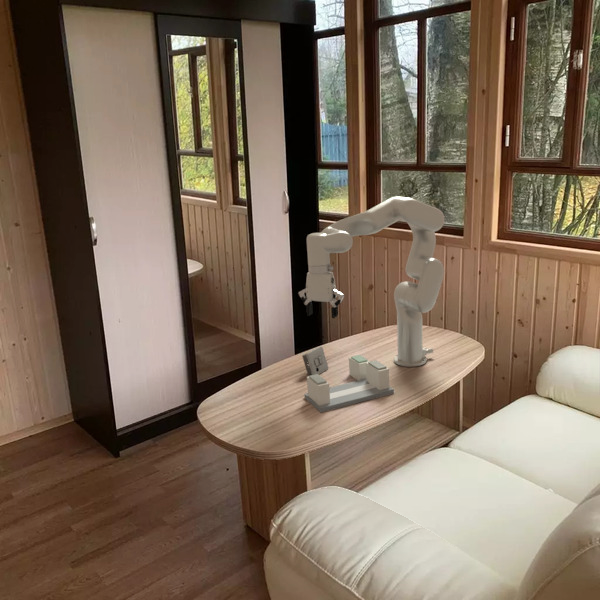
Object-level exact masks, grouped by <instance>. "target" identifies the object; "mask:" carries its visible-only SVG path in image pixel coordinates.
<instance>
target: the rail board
mask: <svg viewBox="0 0 600 600" xmlns="http://www.w3.org/2000/svg"><path fill="white" fill-rule="evenodd" d="M329 390H330V403H328V404H324V405H320V406H319V405H318V404H317V403H316V402H315V401H314V400H313V399H311V398H310V397H309V396H308V392H305V393H304V395H303V396H304V399H305V400H306V401H307V402H308V403H310V404H311V405H312V406H313V407H314V408H315V409H317V410H318V412H320V413H324V412H328V411H331V410H335V409H339V408H343V407H347V406H351V405H356V404H358V403H361V402H362V403H363V402H365V401H370V400H375V399H377V398H381V397H384V396H389V395H393V394H395V389H394V388H393V387H391V386H390V385H389V388H386V389H382V390H379V389H377V388H376V387H374V386H373V385H372V384H370V383H368V382H367V381H366V379H362V380H354V381H351V382H348V383H342V384H338V385H335V386H329Z"/></svg>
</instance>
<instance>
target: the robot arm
mask: <svg viewBox="0 0 600 600" xmlns="http://www.w3.org/2000/svg"><path fill="white" fill-rule="evenodd" d="M397 222H404V223H407V224H408V226H409V228H410V229H411V233H412V244H411V248H410V251H409V254H408V258H407V260H406V265H405V273H406V275H407V276H408V277H409V278H411V279H414V280H417V281H418V283H416V282H413V281H401V282H400V283H398V284H397V285H396V287H395V288H394V292H393V298H394V304H395V309H396V328H397V330H396V332H397V334H396V335H397V337H396V339H397V354H396V355H395V356H393V361H394V364H396V365H398V366H401V367H407V368H408V367H410V368H412V367H413V368H414V367H419V366H423V365H425V364H427V362H428V361H427V357H426V355H428V354H432V353H433V352H434V349H433V347H430V348H427V347H423V315H422V314H426V313H428V312H429V311H431V310H432V309H433V308H434V307H435V304H436V302H437V300H438V296H439V293H440V289H441V286H442V284H443V280H444V277H445V268H444V265H443V263H442V261H441V260H439V259H437V258H435V257H434V253H435V249H436V246H437V245H436V244H437V237H436V233H435V232H438V231H439V230H441V229H442V227H443V226H444V224H445V214H444V213H443V211H442V210H441V209H439V208H437V207H435V206H432V205H430V204H427V203H425V202H422V201H419V200H418V199H415V198H412V197H405V196H400V195H399V196H391V197H389V198H388V199H386V200H384V201H382V202H380V203H379V204H377V205H375V206H373V207H371V208H370V209H367V210H365V211H364V212H363V211H362V212H360V213H357V214H354V215H351V216H348V217H345V218H343V219H339V220H337V221H336V222H334V223H332V224H330V225H328V226H327V227H325V228H324V229H323V230H321V232H312V233H310V234H307V236H306V251H307V265H308V272H307V273H306V280H305V281H306V282H305V288H304V289H302V290H300V291H298V296H299V297H300V300H301V301H302V302H303V304H304V305H305V312H306V314H307V317H310V316H312V315H313V314H314V310H313V309H314V307H313V303H312V302H324V303H328V302H329V303H330V304H329V305H331V318H332V319H335V318H337V317H338V315H339V305H340V304H341V303H342V302H343V300H344V298H345V294H344V293H342V292H341V291H338V289H337V285H336V279H335V276H334V275H335V274H334V272H333V271H334V269H335V267H334V266H332V265H331V260H330V259H331V257H330V254H336V253H337V254H343V253H345V252H349V250H351V248H352V246H353V245H354V242H353V241H354V240H353V237H358V236H369V235H373V234H377V233H379V232H380V231H382V230H383V229H386V228H388V227H389V226H391V225H393V224H395V223H397ZM305 294H306V295H305ZM337 297H338V299H336V298H337ZM433 354H434V353H433Z"/></svg>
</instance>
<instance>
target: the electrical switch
mask: <svg viewBox="0 0 600 600" xmlns="http://www.w3.org/2000/svg"><path fill="white" fill-rule="evenodd" d="M301 358H302V360H303V364H304V366H305V370H306V374H307V376H311V375H315V374H318V375H320V374H322V373H324V372H326V371H327V370H329V365H328V362H327V361H328V360H327V356H326V354H325V351H324V348H323V346H318V347H316V348H315V349H312V350H311V351H309V352H306V353H304V354H303V355H302V357H301Z"/></svg>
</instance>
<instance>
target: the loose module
mask: <svg viewBox="0 0 600 600" xmlns="http://www.w3.org/2000/svg"><path fill="white" fill-rule="evenodd" d="M367 362H370V360H368V359H367V358H365V356H363V355H361V354H356V355H353V356H350V357H348V370H349V371H348V372H349V373H348V374H349V376H351V377H352V378H354V379H355V381H358V380H362V379H366V363H367Z"/></svg>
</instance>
